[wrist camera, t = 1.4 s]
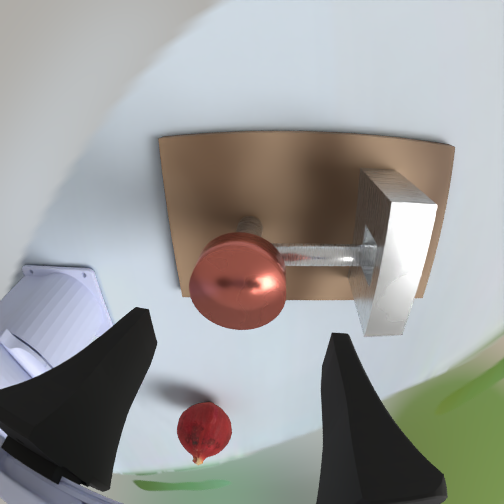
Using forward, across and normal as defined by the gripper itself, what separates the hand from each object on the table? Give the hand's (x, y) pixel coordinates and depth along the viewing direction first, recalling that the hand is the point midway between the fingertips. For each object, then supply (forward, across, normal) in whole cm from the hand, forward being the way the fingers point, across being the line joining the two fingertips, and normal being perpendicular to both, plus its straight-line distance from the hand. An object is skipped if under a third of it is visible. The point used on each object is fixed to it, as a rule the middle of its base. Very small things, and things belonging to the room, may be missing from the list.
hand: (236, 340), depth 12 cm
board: (+11, -3, 0) cm, 11 cm away
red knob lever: (+10, -3, 0) cm, 10 cm away
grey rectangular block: (+11, -7, 0) cm, 13 cm away
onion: (+10, +5, +22) cm, 25 cm away
